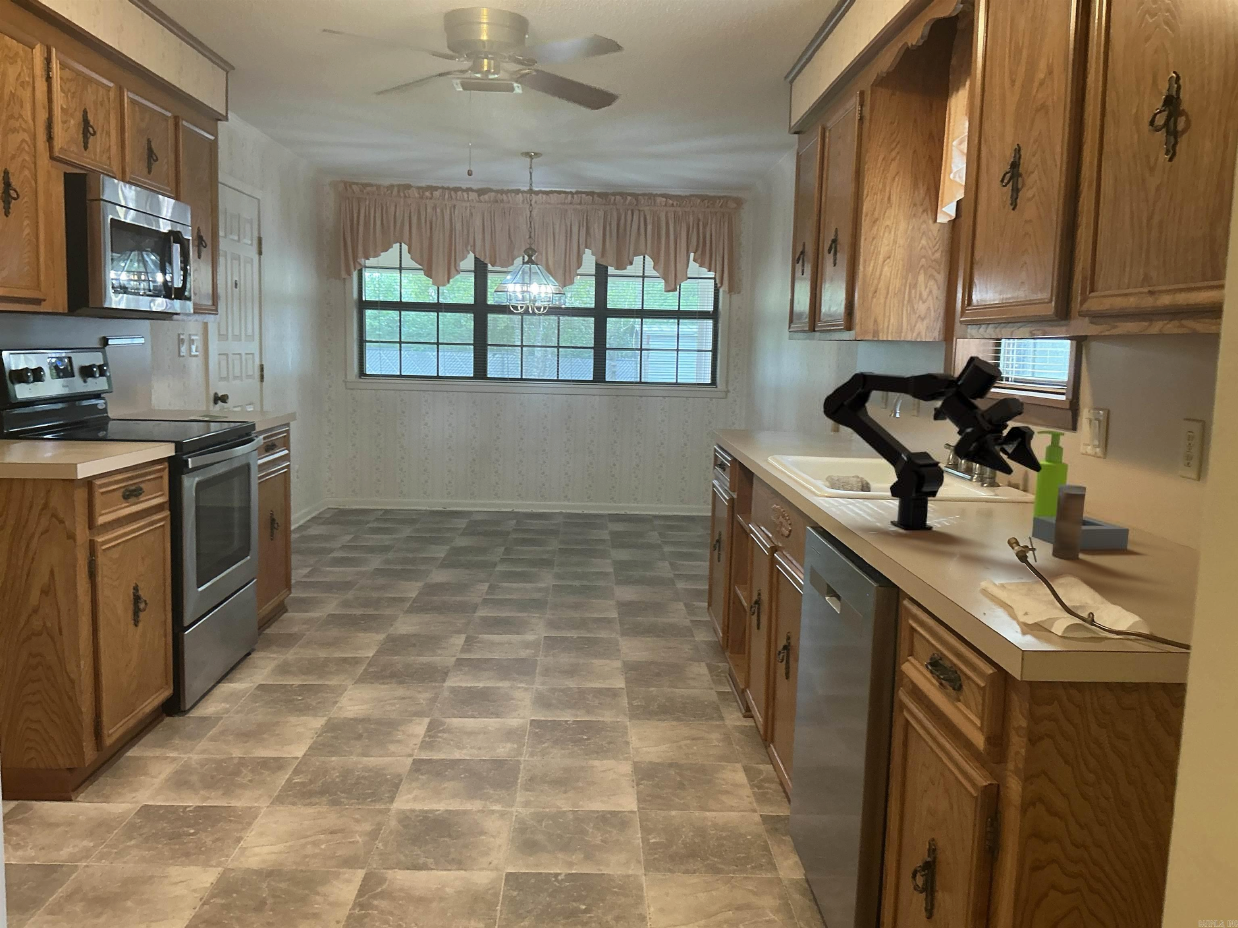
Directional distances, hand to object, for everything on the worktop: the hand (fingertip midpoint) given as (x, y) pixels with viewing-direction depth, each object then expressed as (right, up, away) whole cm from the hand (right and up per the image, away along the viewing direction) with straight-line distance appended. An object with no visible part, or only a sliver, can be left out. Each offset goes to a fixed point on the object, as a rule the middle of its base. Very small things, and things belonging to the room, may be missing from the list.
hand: (1026, 471), depth 170 cm
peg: (+7, -15, -1) cm, 17 cm away
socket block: (+15, -14, +11) cm, 24 cm away
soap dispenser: (+18, -11, +32) cm, 39 cm away
